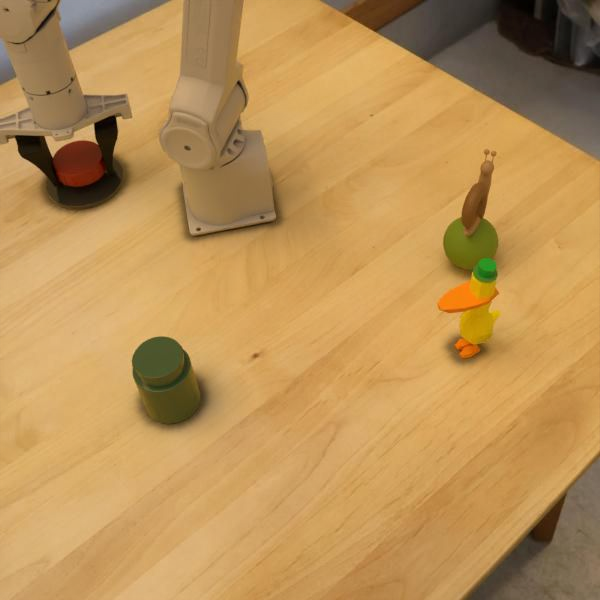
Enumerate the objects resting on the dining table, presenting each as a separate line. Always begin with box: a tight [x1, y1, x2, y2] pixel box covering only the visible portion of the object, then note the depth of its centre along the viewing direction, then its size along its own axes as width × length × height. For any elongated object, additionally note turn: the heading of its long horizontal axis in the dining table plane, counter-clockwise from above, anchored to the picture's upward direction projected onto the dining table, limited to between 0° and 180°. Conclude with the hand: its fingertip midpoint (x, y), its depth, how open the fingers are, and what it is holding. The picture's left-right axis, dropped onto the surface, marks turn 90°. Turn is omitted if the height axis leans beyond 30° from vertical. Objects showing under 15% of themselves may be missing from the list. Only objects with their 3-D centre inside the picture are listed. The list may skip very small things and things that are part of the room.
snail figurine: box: [442, 148, 499, 270], centre depth 83 cm, size 5×6×12 cm
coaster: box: [45, 156, 125, 210], centre depth 99 cm, size 9×9×1 cm
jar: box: [131, 335, 201, 425], centre depth 77 cm, size 5×5×7 cm
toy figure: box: [436, 258, 503, 359], centre depth 76 cm, size 7×4×12 cm, turn 112°
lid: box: [52, 139, 106, 187], centre depth 97 cm, size 6×6×2 cm
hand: (83, 175), depth 98 cm, fingers closed on lid, 5 cm apart
